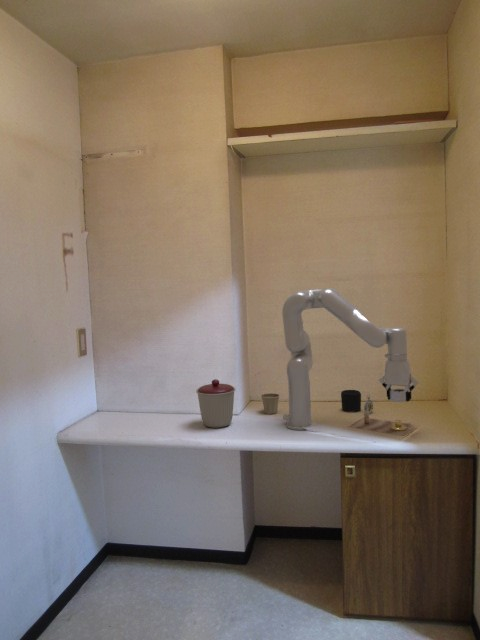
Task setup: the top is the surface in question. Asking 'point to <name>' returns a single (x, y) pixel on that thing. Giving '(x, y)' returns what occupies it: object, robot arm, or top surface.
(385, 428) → the walnut board
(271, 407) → the flower pot
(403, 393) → the steel ring
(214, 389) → the canister
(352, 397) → the pen holder
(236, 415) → the top surface
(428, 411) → the top surface
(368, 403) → the pocket watch
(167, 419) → the top surface
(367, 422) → the stand rod
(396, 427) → the brass hub
